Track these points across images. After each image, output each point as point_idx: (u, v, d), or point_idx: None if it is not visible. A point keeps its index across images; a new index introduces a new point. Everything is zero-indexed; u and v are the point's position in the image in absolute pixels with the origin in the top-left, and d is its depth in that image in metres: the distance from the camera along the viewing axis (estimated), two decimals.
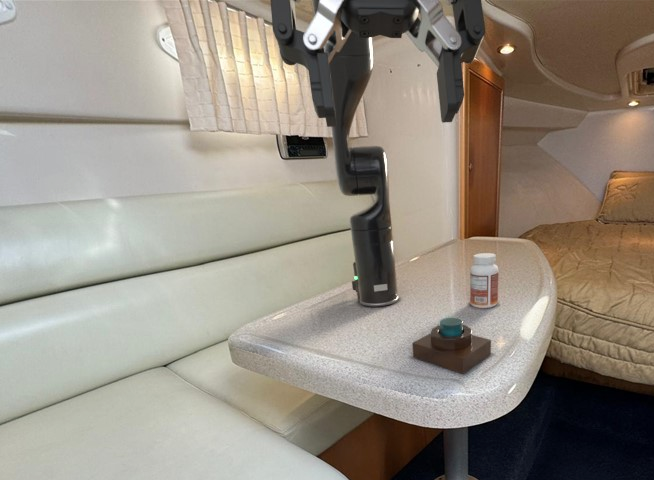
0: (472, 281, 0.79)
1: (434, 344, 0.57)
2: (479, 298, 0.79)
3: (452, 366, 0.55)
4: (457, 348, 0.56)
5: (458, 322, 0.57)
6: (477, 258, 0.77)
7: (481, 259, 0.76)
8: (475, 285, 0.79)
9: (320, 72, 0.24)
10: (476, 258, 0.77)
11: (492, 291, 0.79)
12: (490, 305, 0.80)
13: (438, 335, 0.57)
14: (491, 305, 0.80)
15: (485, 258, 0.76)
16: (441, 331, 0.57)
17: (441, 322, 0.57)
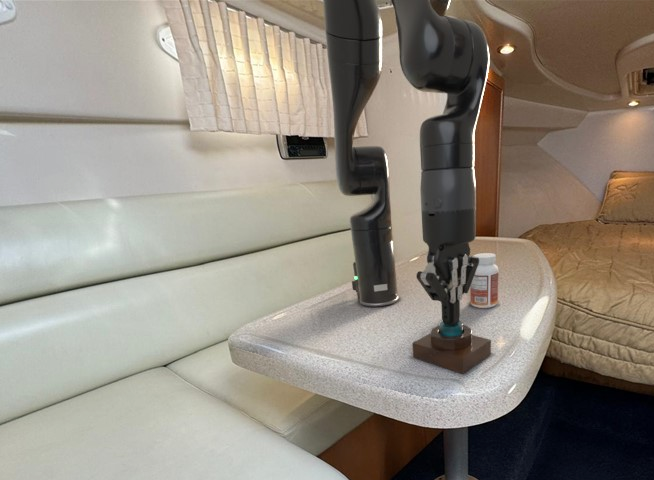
0: (472, 281, 0.79)
1: (434, 344, 0.57)
2: (479, 298, 0.79)
3: (452, 366, 0.55)
4: (457, 348, 0.56)
5: (458, 324, 0.57)
6: None
7: (481, 259, 0.76)
8: (475, 285, 0.79)
9: (454, 311, 0.55)
10: None
11: (492, 291, 0.79)
12: (490, 305, 0.80)
13: (438, 335, 0.57)
14: (491, 305, 0.80)
15: (485, 258, 0.76)
16: (441, 333, 0.57)
17: (441, 324, 0.57)
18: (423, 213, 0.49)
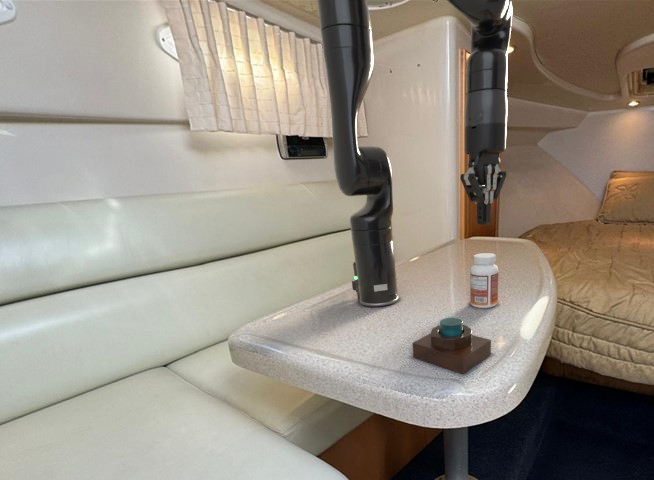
0: (472, 281, 0.79)
1: (434, 344, 0.57)
2: (479, 298, 0.79)
3: (452, 366, 0.55)
4: (457, 348, 0.56)
5: (458, 322, 0.57)
6: (477, 258, 0.77)
7: (481, 259, 0.76)
8: (475, 285, 0.79)
9: (486, 211, 0.71)
10: (476, 258, 0.77)
11: (492, 291, 0.79)
12: (490, 305, 0.80)
13: (438, 335, 0.57)
14: (491, 305, 0.80)
15: (485, 258, 0.76)
16: (441, 331, 0.57)
17: (441, 322, 0.57)
18: (466, 128, 0.65)
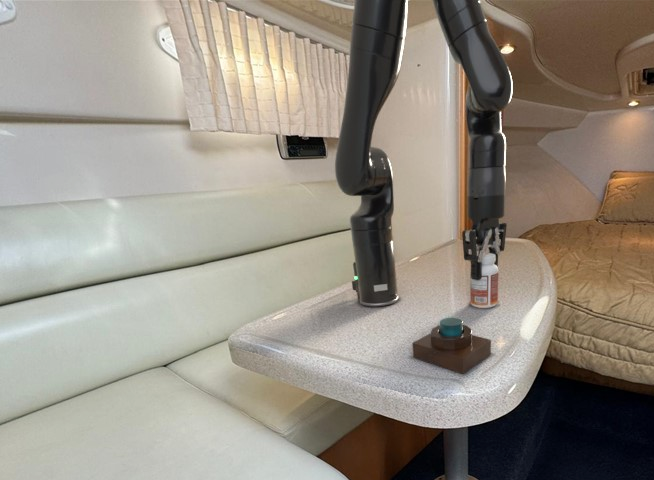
0: (472, 281, 0.79)
1: (434, 344, 0.57)
2: (479, 298, 0.79)
3: (452, 366, 0.55)
4: (457, 348, 0.56)
5: (458, 322, 0.57)
6: None
7: None
8: (475, 285, 0.79)
9: (480, 268, 0.76)
10: None
11: (492, 291, 0.79)
12: (490, 305, 0.80)
13: (438, 335, 0.57)
14: (491, 305, 0.80)
15: (485, 258, 0.76)
16: (441, 331, 0.57)
17: (441, 322, 0.57)
18: (469, 198, 0.72)
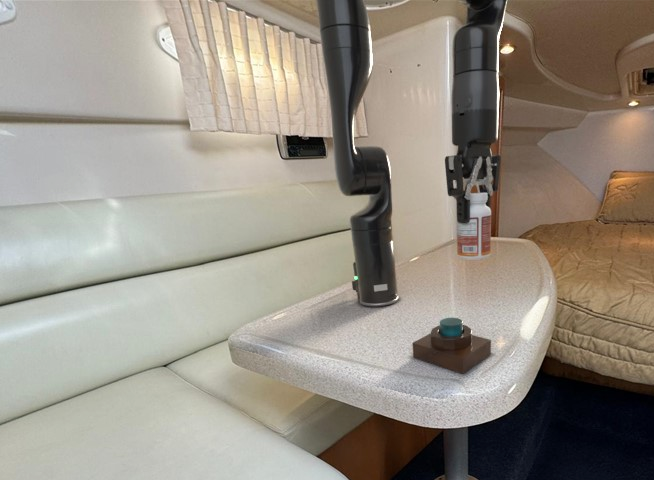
0: (459, 226, 0.65)
1: (434, 344, 0.57)
2: (468, 247, 0.65)
3: (452, 366, 0.55)
4: (457, 348, 0.56)
5: (458, 322, 0.57)
6: None
7: (470, 197, 0.62)
8: (463, 230, 0.65)
9: (468, 207, 0.62)
10: None
11: (484, 239, 0.65)
12: (481, 256, 0.66)
13: (438, 335, 0.57)
14: (482, 256, 0.66)
15: (474, 195, 0.62)
16: (441, 331, 0.57)
17: (441, 322, 0.57)
18: (454, 115, 0.58)
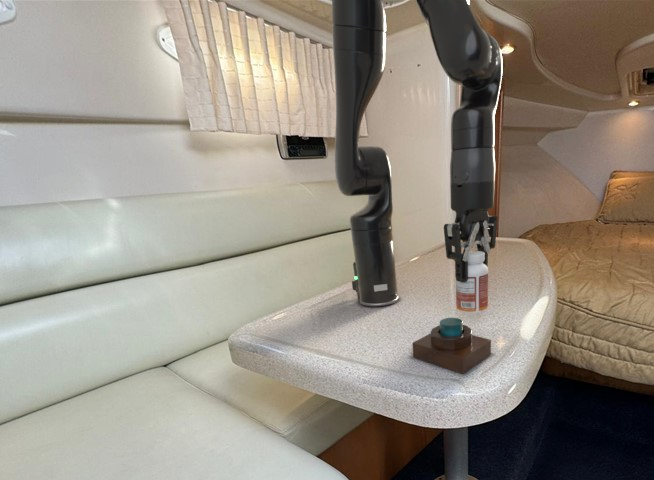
0: (458, 284, 0.68)
1: (434, 344, 0.57)
2: (466, 303, 0.68)
3: (452, 366, 0.55)
4: (457, 348, 0.56)
5: (458, 322, 0.57)
6: None
7: None
8: (461, 288, 0.68)
9: (466, 268, 0.65)
10: None
11: (481, 295, 0.68)
12: (479, 311, 0.69)
13: (438, 335, 0.57)
14: (480, 311, 0.69)
15: (472, 256, 0.65)
16: (441, 331, 0.57)
17: (441, 322, 0.57)
18: (452, 185, 0.61)
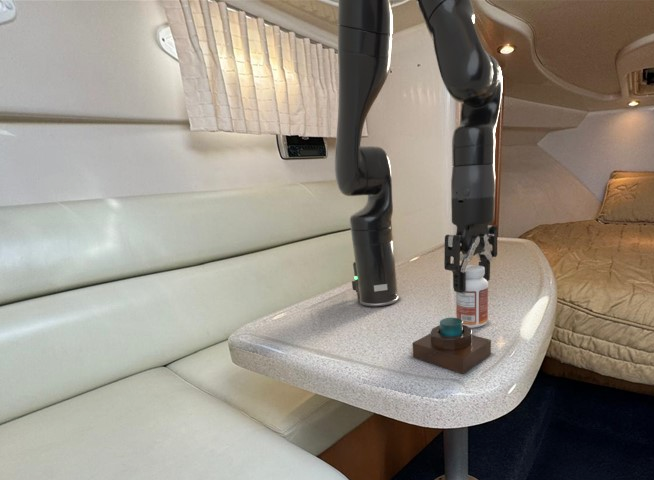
0: (458, 297, 0.69)
1: (434, 344, 0.57)
2: (466, 316, 0.70)
3: (452, 366, 0.55)
4: (457, 348, 0.56)
5: (458, 322, 0.57)
6: None
7: (468, 272, 0.67)
8: (461, 301, 0.69)
9: (463, 279, 0.65)
10: None
11: (481, 309, 0.69)
12: (479, 324, 0.70)
13: (438, 335, 0.57)
14: (480, 324, 0.70)
15: (472, 271, 0.66)
16: (441, 331, 0.57)
17: (441, 322, 0.57)
18: (453, 200, 0.62)
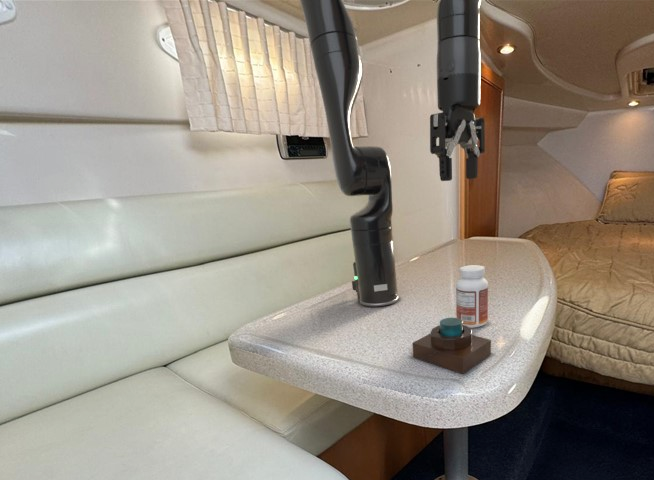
0: (458, 297, 0.69)
1: (434, 344, 0.57)
2: (466, 316, 0.70)
3: (452, 366, 0.55)
4: (457, 348, 0.56)
5: (458, 322, 0.57)
6: (463, 271, 0.67)
7: (468, 273, 0.67)
8: (461, 301, 0.69)
9: (449, 165, 0.65)
10: (462, 271, 0.67)
11: (481, 309, 0.69)
12: (479, 324, 0.70)
13: (438, 335, 0.57)
14: (480, 324, 0.70)
15: (472, 271, 0.66)
16: (441, 331, 0.57)
17: (441, 322, 0.57)
18: (438, 80, 0.62)
